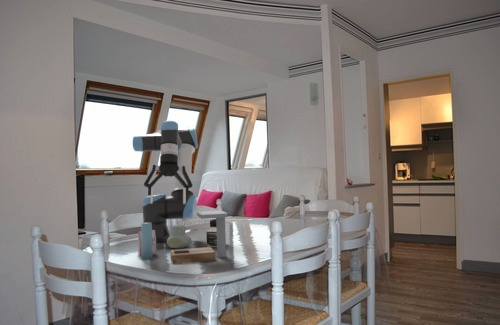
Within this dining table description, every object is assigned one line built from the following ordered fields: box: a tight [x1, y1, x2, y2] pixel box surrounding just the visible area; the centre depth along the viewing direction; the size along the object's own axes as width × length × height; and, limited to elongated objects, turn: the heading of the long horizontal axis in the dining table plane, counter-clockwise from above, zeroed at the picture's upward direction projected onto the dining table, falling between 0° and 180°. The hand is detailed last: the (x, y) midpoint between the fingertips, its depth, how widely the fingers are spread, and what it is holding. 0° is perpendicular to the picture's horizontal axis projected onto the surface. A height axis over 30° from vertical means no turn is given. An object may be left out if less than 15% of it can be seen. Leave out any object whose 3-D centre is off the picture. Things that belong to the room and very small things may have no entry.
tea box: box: [137, 230, 157, 257], centre depth 165 cm, size 4×7×10 cm, turn 115°
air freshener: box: [166, 224, 192, 250], centre depth 179 cm, size 11×8×10 cm
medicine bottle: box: [205, 218, 228, 248], centre depth 181 cm, size 7×7×12 cm
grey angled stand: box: [196, 209, 229, 258], centre depth 155 cm, size 14×10×18 cm
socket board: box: [170, 246, 216, 265], centre depth 153 cm, size 12×16×3 cm
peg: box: [140, 222, 154, 261], centre depth 157 cm, size 4×4×14 cm
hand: (168, 203), depth 166 cm, fingers open, 13 cm apart
